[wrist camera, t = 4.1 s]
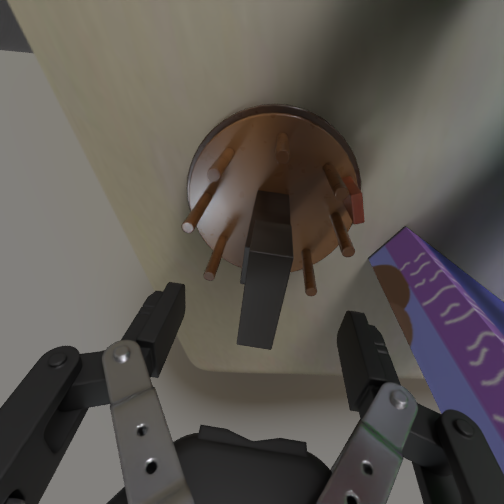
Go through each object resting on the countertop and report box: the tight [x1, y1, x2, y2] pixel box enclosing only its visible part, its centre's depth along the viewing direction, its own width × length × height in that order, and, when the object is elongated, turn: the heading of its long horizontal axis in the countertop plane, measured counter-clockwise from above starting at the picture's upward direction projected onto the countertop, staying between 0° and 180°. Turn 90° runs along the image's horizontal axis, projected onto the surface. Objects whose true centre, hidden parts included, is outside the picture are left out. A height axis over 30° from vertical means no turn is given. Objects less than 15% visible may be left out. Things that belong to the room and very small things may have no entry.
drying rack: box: [182, 113, 364, 350], centre depth 20 cm, size 15×15×14 cm
